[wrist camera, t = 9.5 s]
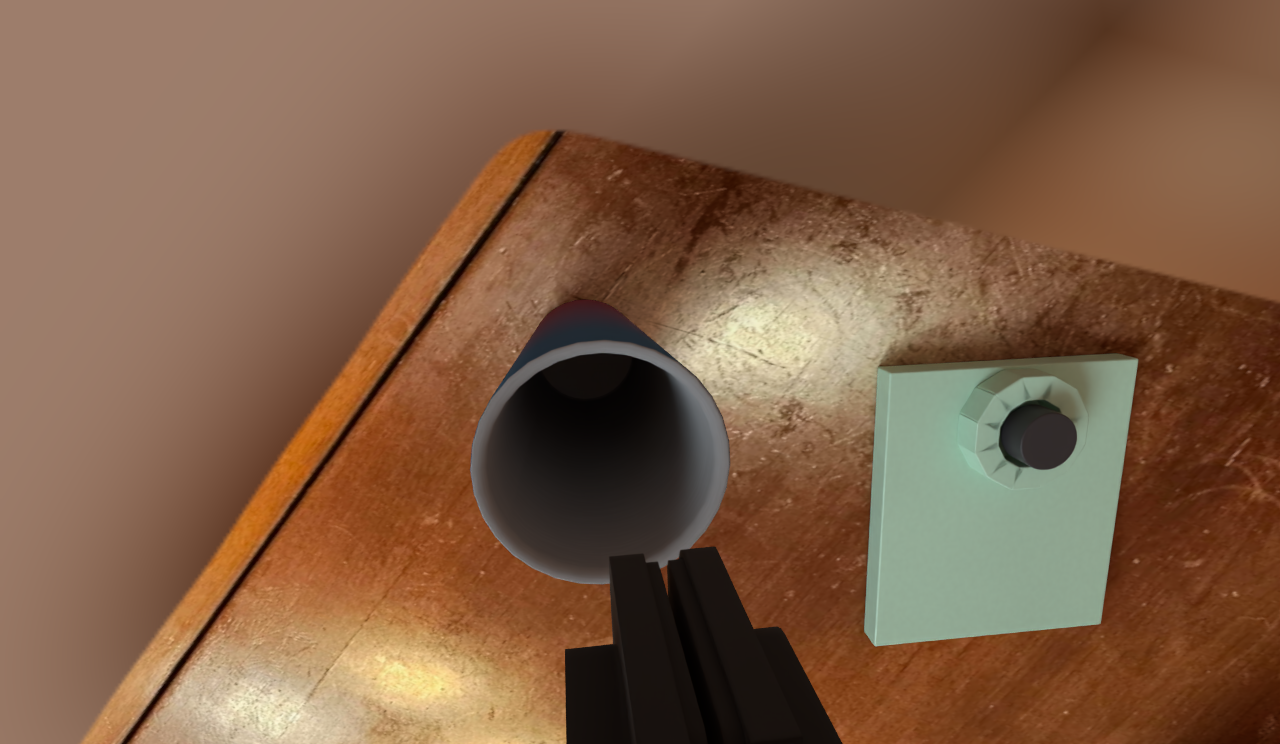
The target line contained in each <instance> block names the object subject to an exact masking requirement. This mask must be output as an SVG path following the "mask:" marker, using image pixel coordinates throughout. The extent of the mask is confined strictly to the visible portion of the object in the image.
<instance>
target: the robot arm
mask: <svg viewBox="0 0 1280 744" xmlns="http://www.w3.org/2000/svg"><path fill="white" fill-rule="evenodd" d="M667 574H668V595H667V592H666V588H665V584H664V581H663V577H662V574H661V570H660V567H659V563H658V562H657V561H656V562H646V561H645V557H644V554H643V553H641V554H631V555H620V556H609V577H610V595H611V613H612V631H613V644H610V645H601V646H592V647H583V648H573V649H565V680H566V738H567V744H842V742H841V740H840V738H839V736H838V734H837V732H836V730H835V729H834V727H833V725H832V723H831V721H830V719H829V717H828V715H827V713H826V711H825V710H824V708H823V706H822V704H821V702H820V700H819V698H818V696H817V694H816V692H815V691H814V689H813V687H812V685H811V683H810V681H809V679H808V677H807V675H806V673H805V672H804V670H803V668H802V666H801V664H800V662H799V660H798V658H797V656H796V654H795V653H794V651H793V649H792V647H791V645H790V643H789V641H788V639H787V637H786V635H785V634H784V632H783V631H782V629H781V628H779V627H768V628H759V629H753V627H752V625H751V623H750V620H749V618H748V616H747V614H746V612H745V610H744V607H743V605H742V603H741V601H740V599H739V596H738V594H737V592H736V590H735V588H734V586H733V583H732V581H731V579H730V577H729V575H728V573H727V570H726V568H725V566H724V564H723V562H722V559H721V557H720V555H719V553H718V551H717V549H716V547H705V548H694V549H684V550H680V553H679V559H677V560H668V564H667Z"/></svg>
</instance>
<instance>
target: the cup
mask: <svg viewBox="0 0 1280 744" xmlns="http://www.w3.org/2000/svg"><path fill="white" fill-rule="evenodd" d="M729 468H730V452H729V439H728V435H727V431H726V428H725V424H724V420H723V417H722V415H721V413H720V411H719V409H718V407H717V405H716V403H715V401H714V399H713V397H712V396H711V394H710V393H709V392H708V390H707V389H706V388H705V387H704V385H703V384H702V383H701V382H700V380H699V379H698V378H697V377H696V376H695V375H694V374H693V373H691V372H690V371H689V370H688V369H687V368H685V367H684V366H683V365H682V364H681V363H679V362H678V361H677V360H676V359H675V358H674V357H672V356H671V355H670V354H669V353H668V352H666V351H665V350H664V349H663V348H662V347H660V346H659V345H658V344H657V343H656V342H654V341H653V340H652V339H651V338H650V337H649V336H647V335H646V334H645V333H644V332H643V331H641V330H640V329H639V328H638V327H637V326H635V325H634V324H633V323H632V322H631V321H630V320H628V319H627V318H626V317H625V316H624V315H622V314H621V313H620V312H619V311H618V310H616V309H615V308H613V307H611V306H610V305H608V304H606V303H602V302H599V301H596V300H586V299H584V300H574V301H571V302H568V303H564V304H563V305H561V306H559V307H557V308H555V309H554V310H553V311H551V312H550V313H549V314H548V315H547V316H546V317H545V318H544V319H543V321H542V322H541V323H540V324H539V326H538V327H537V329H536V331H535V332H534V334H533V335H532V337H531V338H530V340H529V341H528V343H527V344H526V346H525V347H524V349H523V350H522V352H521V353H520V355H519V356H518V358H517V360H516V361H515V363H514V364H513V366H512V367H511V369H510V370H509V372H508V373H507V375H506V376H505V378H504V379H503V381H502V382H501V384H500V385H499V387H498V388H497V390H496V392H495V393H494V395H493V396H492V398H491V399H490V401H489V403H488V405H487V407H486V409H485V411H484V413H483V414H482V416H481V418H480V420H479V423H478V426H477V430H476V433H475V437H474V440H473V444H472V453H471V468H470V471H471V477H472V484H473V491H474V495H475V498H476V501H477V503H478V506H479V509H480V511H481V514H482V517H483V518H484V520H485V521H486V523H487V524H488V526H489V528H490V529H491V531H492V532H493V534H494V535H495V537H496V538H497V539H498V540H499V541H500V542H501V543H502V544H503V545H504V546H505V547H506V548H507V549H508V550H509V551H510V552H511V553H512V554H513V555H514V556H516V557H517V558H518V559H520V560H521V561H523V562H524V563H526V564H527V565H529V566H530V567H531V568H533V569H536V570H538V571H540V572H543V573H545V574H547V575H549V576H552V577H554V578H558V579H562V580H567V581H571V582H575V583H586V584H608V583H610V577H609V556H620V555H631V554H641V553H643V554H644V557H645V561H646V562H656V561H657V562H658V563H659V567H660V568H662V567H664V566H666V565H667V564H668V560H675V559H676V558H678V557H679V553H680V550H684V549H689V548H691V546H692V545H693V544H694V543H695V542H696V541H697V540H698V539H699V537H700V536H701V535H702V534H703V533H704V532H705V531H706V529H707V528H708V526H709V524H710V523H711V521H712V519H713V518H714V516H715V515H716V513H717V511H718V509H719V507H720V504H721V501H722V498H723V496H724V493H725V490H726V488H727V481H728V475H729Z"/></svg>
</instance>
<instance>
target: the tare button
mask: <svg viewBox="0 0 1280 744" xmlns="http://www.w3.org/2000/svg"><path fill="white" fill-rule="evenodd" d="M1001 442H1002V445H1003V447H1004V449H1005V451H1006V452H1007V453H1008V454H1009V455H1010V456H1012V457H1014V458H1015V459H1017V460H1019V461H1021V462H1023V463H1025V464H1026V465H1028V466H1030V467H1032V468H1034V469H1038V470H1049V469H1053V468H1056V467H1058V466H1060V465H1061V464H1063V463H1064V462H1065V461H1066V460H1067V459H1068V458H1069V457H1070V456H1071V454H1072V452H1073V451H1074V449H1075V446H1076V442H1077V431H1076V428H1075V425H1074V424H1073V422H1072V421H1071V420H1070V419H1069V418H1068V417H1067V416H1065V415H1063V414H1061V413H1059V412H1056V411H1054V410H1051V409H1049V408H1046V407H1044V406H1041V405H1037V404H1029V405H1025V406H1022V407H1019V408H1018V409H1016V410H1015V411H1013V412H1012V413H1011V414H1010V415H1009V416H1008V417H1007V419H1006V420H1005V422H1004V424H1003V427H1002V430H1001Z"/></svg>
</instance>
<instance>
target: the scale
mask: <svg viewBox="0 0 1280 744" xmlns="http://www.w3.org/2000/svg"><path fill="white" fill-rule="evenodd" d="M1137 366H1138V359H1137V358H1134V357H1130V356H1126V355H1122V354H1118V353H1113V354H1096V355H1078V356H1060V357H1042V358H1025V359H1007V360H989V361H971V362H953V363H936V364H918V365H900V366H882V367H878V377H877V396H876V415H875V434H874V453H873V472H872V491H871V510H870V529H869V548H868V567H867V586H866V605H865V624H864V631H865V633H866V634H867V636H868V637H869V639H870V640H871V641H872V643H873V644H874V645H875V646H882V645H892V644H902V643H912V642H922V641H933V640H943V639H953V638H963V637H973V636H983V635H993V634H1004V633H1014V632H1024V631H1034V630H1044V629H1054V628H1064V627H1075V626H1085V625H1095V624H1100V623H1101V617H1102V610H1103V603H1104V596H1105V589H1106V582H1107V575H1108V568H1109V561H1110V554H1111V547H1112V540H1113V533H1114V526H1115V519H1116V512H1117V505H1118V498H1119V491H1120V484H1121V477H1122V470H1123V463H1124V457H1125V450H1126V443H1127V436H1128V429H1129V422H1130V415H1131V408H1132V401H1133V394H1134V387H1135V380H1136V373H1137ZM1029 404H1037V405H1041V406H1044V407H1046V408H1049V409H1051V410H1054V411H1056V412H1059V413H1061V414H1063V415H1065V416H1067V417H1068V418H1069V419H1070V420H1071V421H1072V422H1073V424H1074V425H1075V428H1076V431H1077V442H1076V446H1075V449H1074V451H1073V452H1072V454H1071V456H1070V457H1069V458H1068V459H1067V460H1066V461H1065V462H1064V463H1063V464H1061V465H1060V466H1058V467H1056V468H1053V469H1049V470H1038V469H1034V468H1032V467H1030V466H1028V465H1026V464H1025V463H1023V462H1021V461H1019V460H1017V459H1015V458H1014V457H1012V456H1010V455H1009V454H1008V453H1007V452H1006V451H1005V449H1004V447H1003V445H1002V442H1001V430H1002V427H1003V424H1004V422H1005V420H1006V419H1007V417H1008V416H1009V415H1010V414H1011V413H1012V412H1013V411H1015V410H1016V409H1018V408H1019V407H1022V406H1025V405H1029Z"/></svg>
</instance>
